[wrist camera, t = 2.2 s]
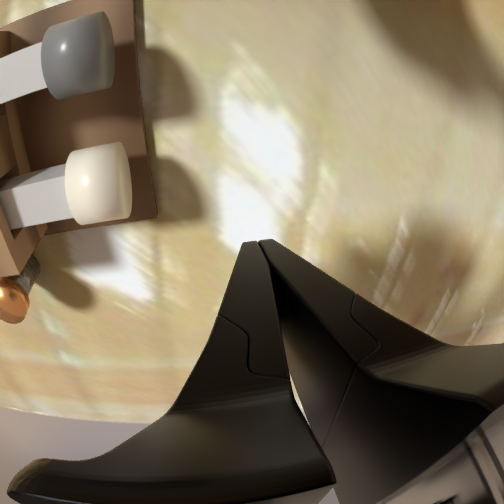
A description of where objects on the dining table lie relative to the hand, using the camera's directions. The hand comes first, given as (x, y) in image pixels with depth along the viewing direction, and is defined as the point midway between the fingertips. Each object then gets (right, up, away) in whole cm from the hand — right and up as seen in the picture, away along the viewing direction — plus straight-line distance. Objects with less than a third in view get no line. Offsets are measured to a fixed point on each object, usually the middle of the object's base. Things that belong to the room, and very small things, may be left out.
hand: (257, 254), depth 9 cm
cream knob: (-11, +4, +6) cm, 14 cm away
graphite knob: (-11, +9, +3) cm, 15 cm away
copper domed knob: (-17, -1, +10) cm, 20 cm away
